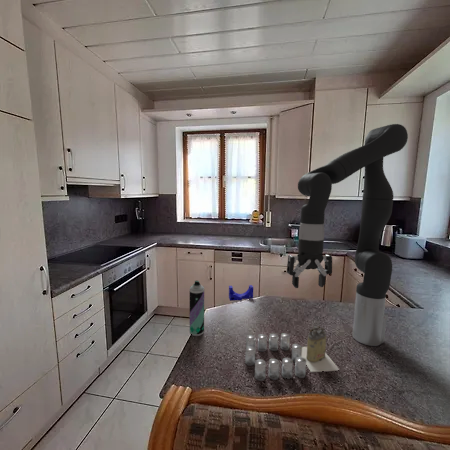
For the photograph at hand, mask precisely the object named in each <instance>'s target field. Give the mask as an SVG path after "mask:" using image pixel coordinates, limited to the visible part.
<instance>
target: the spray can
mask: <svg viewBox="0 0 450 450" xmlns="http://www.w3.org/2000/svg"><path fill="white" fill-rule="evenodd" d="M204 333H205V286H204V285H202V284H201V283H200V281H199V280H194V283H193V284H192V285H191V286H190V287H189V335H191V334H192V335H191V336H194V337H200V336H202V335H204Z"/></svg>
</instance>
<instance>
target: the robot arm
mask: <svg viewBox="0 0 450 450" xmlns="http://www.w3.org/2000/svg"><path fill="white" fill-rule="evenodd" d="M365 136H366V137H365V139H364V144H363V145H362V146H359V147H357V148H355V149H353V150H350V151H347V152H345V153H343V154H342V155H339V156H338V157H335V158H334V159H333V160H331V161H329V162H328V163H326V164H325V165H322V166H320V167H317V168H315V169H313V170H311V171H309V172H307V173H304V175H302V176H301V177H300V179H299V181H298V182H297V189H298V192H299V193H300V194H301V195H303V196H306V197H309V199H308V201H307V203H306V204H303V205H302V206H301V210H300V224H299V229H298V243H297V244H298V247H297V250H298V253H297V255H291V254H289V255H288V256H287V262H286V264H287V265H286V273H287V274H288V275H290V276H291V277H292V279H291V280H292V281H291V284H292V286H293V287H294V288H295V289H299V286H300V285H299V283H300V282H299V281H300V277H299V276H300V274H301V273H303V272H304V270H317V271H318V273H319V274H318V282H317V284H318V286H319V287H320V288H324V287H325V285H326V278H327V275H332V273H333V256H332V255H330V254H327V253H325V255H323V253H324V241H325V213H326V212H325V211H326V207H327V206H328V202H329V199H330V197H331V196H330V195H331V193H332V189H333V187H332V186H333V185H334V184H338V183H340V182H343V181H344V180H346V179H348V178H349V177H350V176H352V175H353V174H355V173H357V172H358V171H360V170H361V169H363V168H364V175H363V176H364V179H363V191H362V200H361V215H360V225H359V235H358V241H357V244H356V249H355V254H354V264H355V266H356V268H357V269H358V271H360V272H362V273H363V280H362V282H359V283H357V285H356V289H355V301H354V313H353V314H354V315H353V323H352V324H353V327H352V338H353V339H354V340H355V341H356V342H358V343H360V344H363V345H365V346H369V347H377V346H380V345H382V344H384V343H385V335H386V327H387V317H386V316H385V307H386V299H387V298H386V297H387V293H388V291H389V289H390V285H391V280H392V273H393V261H392V259H391V257H390V256H389V255H388V254H386V253H385V252H382V251H381V250H379V247H380V239H381V238H380V237H381V234H382V232H383V230H384V228H385V227H386V226H387V224H388V222H389V220H390V219H391V216H392V212H393V206H394V205H393V204H394V191H393V188H392V186H391V184H390V181H389V180H388V179H387V177H386V174H385V172H384V158H385V157H388V156H389V155H392V154H395V153H397V152H400V151H401V150H403V148H404V147H405V146H406V144H407V142H408V139H409V133H408V130H407V128H406V127H405V126H404V125H402V124H399V123H391V124H387V125H384V126H380V127H376V128H374V129H371V130H369V132H368V133H367V134H366V135H365ZM296 262H298V263H297V264H296V265H295V263H296ZM323 262H324V267H323V265H322V264H321V263H323Z"/></svg>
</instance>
